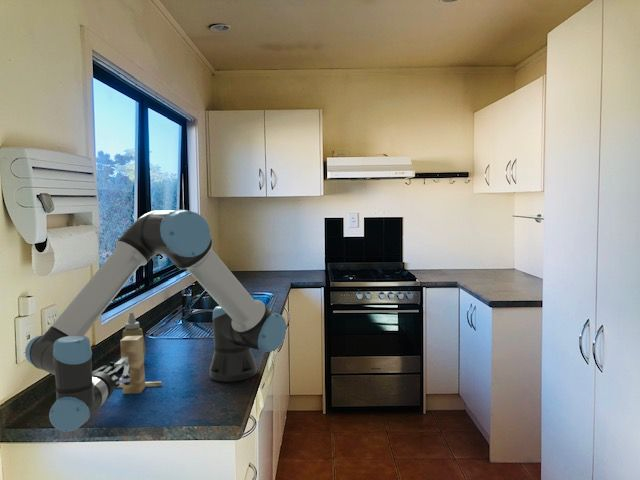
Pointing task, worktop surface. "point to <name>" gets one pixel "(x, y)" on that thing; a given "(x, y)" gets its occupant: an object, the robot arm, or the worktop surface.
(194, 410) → the worktop surface
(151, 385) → the maple strip
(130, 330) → the squeeze bottle
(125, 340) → the oak block
